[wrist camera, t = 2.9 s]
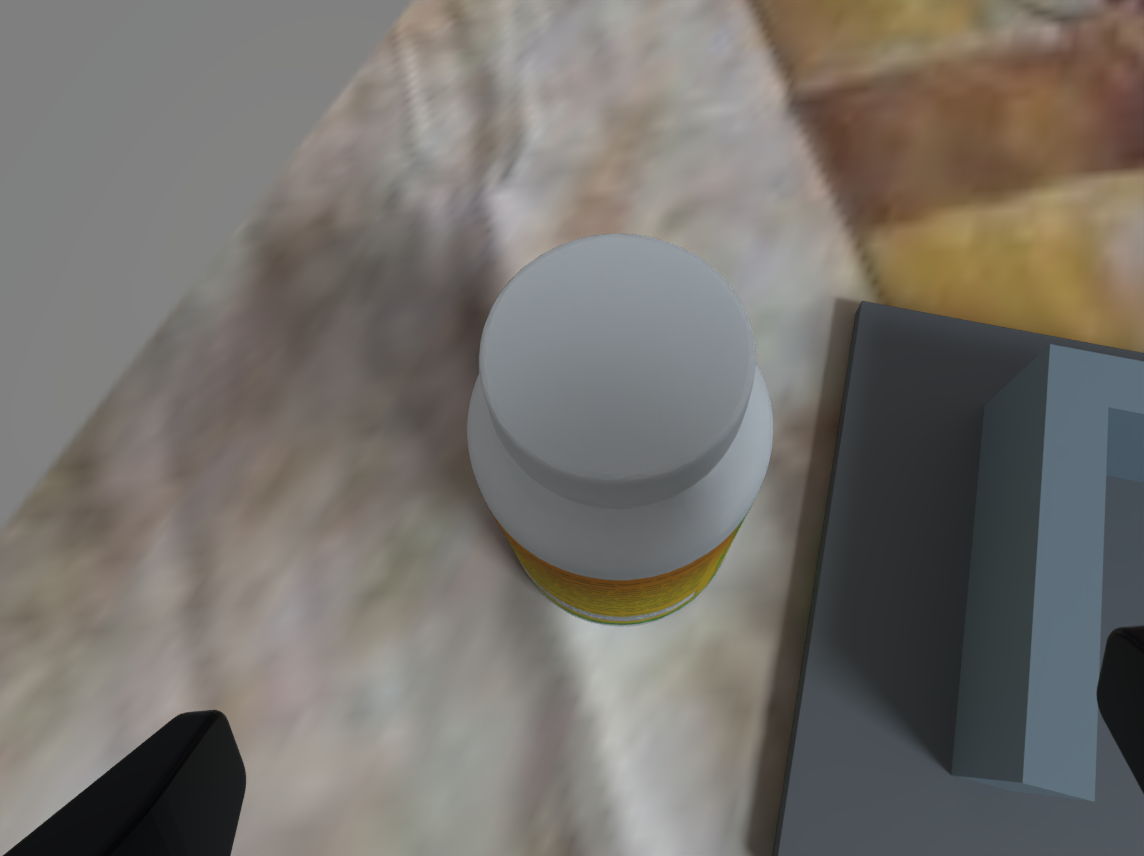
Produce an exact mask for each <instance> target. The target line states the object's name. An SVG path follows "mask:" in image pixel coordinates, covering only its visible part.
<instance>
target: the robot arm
mask: <svg viewBox="0 0 1144 856" xmlns="http://www.w3.org/2000/svg"><path fill="white" fill-rule="evenodd" d="M1096 694H1097V703H1098V708H1099V710H1100V713H1101V716H1102V718H1103V720H1104V722H1105V724H1106V725H1107V727H1108V729H1109V731H1110V733H1111V735H1112V737H1113V738H1114V740H1115V742H1116V744H1117V746H1118V748H1119V750H1120V751H1121V753H1122V755H1123V757H1124V759H1125V761H1126V763H1127V764H1128V766H1129V768H1130V770H1131V772H1132V774H1133V776H1134V777H1135V779H1136V781H1137V783H1138V785H1139V787H1140V789H1141V790H1142V792H1143V794H1144V625H1139V626H1128V627H1119V628H1117V629H1114V630H1113V631H1112V632H1111V633H1110V635H1109V636H1108V639H1107V642H1106V647H1105V652H1104V656H1103V661H1102V666H1101V671H1100V675H1099V680H1098V685H1097V693H1096ZM245 789H246V772H245V767H244V763H243V761H242V758H241V755H240V752H239V750H238V747H237V744H236V741H235V739H234V736H233V733H232V730H231V727H230V725H229V722H228V720H227V718H226V716H225V715H224V714H223V713H222V712H221V711H217V710H207V711H196V712H186V713H182V714H180V715H178V716H176V717H175V718H173V719H172V720H171V721H169V722H168V723H167V724H166V725H165V726H163V727H162V728H161V729H160V730H158V731H157V732H156V733H155V734H153V735H152V736H151V737H150V738H148V739H147V740H146V741H145V742H143V743H142V744H141V745H140V746H138V747H137V748H136V749H135V750H133V751H132V752H131V753H130V754H128V755H127V756H126V757H125V758H124V759H122V760H121V761H120V762H119V763H117V764H116V765H115V766H114V767H112V768H111V769H110V770H109V771H107V772H106V773H105V774H104V775H102V776H101V777H100V778H99V779H97V780H96V781H95V782H94V783H92V784H91V785H90V786H89V787H88V788H86V789H85V790H84V791H83V792H81V793H80V794H79V795H78V796H76V797H75V798H74V799H73V800H71V801H70V802H69V803H68V804H66V805H65V806H64V807H63V808H61V809H60V810H59V811H58V812H56V813H55V814H54V815H53V816H51V817H50V818H49V819H48V820H47V821H45V822H44V823H43V824H42V825H40V826H39V827H38V828H37V829H35V830H34V831H33V832H32V833H30V834H29V835H28V836H27V837H25V838H24V839H23V840H22V841H20V842H19V843H18V844H17V845H15V846H14V847H13V848H12V849H11V850H9V851H8V852H7V853H6V854H4V855H3V856H230V855H231V851H232V846H233V842H234V838H235V833H236V829H237V825H238V820H239V816H240V812H241V807H242V803H243V799H244V794H245Z"/></svg>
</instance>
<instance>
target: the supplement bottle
mask: <svg viewBox="0 0 1144 856" xmlns="http://www.w3.org/2000/svg"><path fill="white" fill-rule="evenodd" d="M467 441H468V450H469V456H470V461H471V465H472V469H473V472H474V475H475V478H476V481H477V483H478V486H479V489H480V491H481V494H482V496H483V498H484V500H485V502H486V504H487V506H488V508H489V510H490V511H491V513H492V515H493V516H494V518H495V520H496V522H497V523H498V525H499V526H500V528H501V530H502V531H503V533H504V535H505V536H506V538H507V540H508V541H509V543H510V545H511V547H512V548H513V550H514V552H515V554H516V555H517V557H518V559H519V561H520V563H521V565H522V566H523V568H524V570H525V571H526V573H527V574H528V576H529V577H530V579H531V580H532V581H533V583H534V584H535V585H536V586H537V587H538V589H539V590H540V591H541V592H542V593H543V594H544V595H545V596H546V597H547V598H548V599H549V600H550V601H552V602H553V603H554V604H555V605H557V606H558V607H560V608H561V609H563V610H564V611H566V612H568V613H570V614H571V615H573V616H576V617H578V618H581V619H583V620H586V621H589V622H593V623H597V624H602V625H609V626H636V625H642V624H647V623H651V622H654V621H657V620H660V619H663V618H665V617H667V616H669V615H671V614H673V613H675V612H677V611H679V610H680V609H682V608H683V607H685V606H686V605H687V604H689V603H690V602H691V601H693V600H694V599H695V598H696V597H697V596H698V595H699V594H700V593H701V592H702V591H703V590H704V589H705V588H706V586H707V585H708V584H709V583H710V581H711V580H712V578H713V577H714V575H715V574H716V572H717V571H718V569H719V568H720V566H721V564H722V562H723V560H724V558H725V555H726V553H727V551H728V549H729V548H730V546H731V544H732V542H733V540H734V538H735V536H736V534H737V532H738V530H739V528H740V526H741V525H742V523H743V521H744V519H745V517H746V516H747V514H748V512H749V510H750V508H751V506H752V504H753V502H754V501H755V499H756V496H757V494H758V492H759V490H760V488H761V485H762V483H763V480H764V477H765V475H766V471H767V468H768V464H769V460H770V455H771V450H772V441H773V416H772V407H771V402H770V397H769V393H768V390H767V387H766V383H765V380H764V378H763V375H762V373H761V371H760V368H759V366H758V365H757V363H756V351H755V341H754V336H753V332H752V328H751V324H750V321H749V318H748V316H747V313H746V311H745V309H744V307H743V304H742V303H741V301H740V299H739V298H738V296H737V295H736V293H735V292H734V290H733V289H732V288H731V286H730V285H729V284H728V282H727V281H726V280H725V279H724V278H723V277H722V276H721V275H720V274H719V273H718V272H717V271H716V270H715V269H714V268H713V267H711V266H710V265H709V264H708V263H706V262H705V261H703V260H702V259H701V258H699V257H698V256H696V255H694V254H692V253H691V252H689V251H687V250H685V249H683V248H681V247H679V246H676V245H674V244H671V243H668V242H665V241H662V240H659V239H656V238H651V237H647V236H642V235H634V234H603V235H594V236H590V237H585V238H581V239H577V240H574V241H571V242H568V243H565V244H563V245H560V246H558V247H556V248H553V249H551V250H550V251H548V252H546V253H544V254H542V255H540V256H539V257H538V258H536V259H535V260H533V261H532V262H531V263H529V264H528V265H526V266H525V267H524V268H522V269H521V270H520V271H519V272H518V273H517V274H516V275H515V276H514V277H513V278H512V279H511V280H510V281H509V282H508V284H507V285H506V286H505V288H504V289H503V290H502V291H501V293H500V294H499V296H498V297H497V299H496V300H495V302H494V304H493V306H492V308H491V310H490V313H489V315H488V318H487V320H486V322H485V325H484V329H483V333H482V337H481V343H480V351H479V375H478V377H477V380H476V382H475V385H474V388H473V392H472V396H471V400H470V405H469V410H468V420H467Z"/></svg>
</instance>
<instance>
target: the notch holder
mask: <svg viewBox="0 0 1144 856" xmlns="http://www.w3.org/2000/svg"><path fill="white" fill-rule="evenodd" d="M1139 625H1144V353H1140V352H1134V351H1129V350H1124V349H1118V348H1113V347H1107V346H1102V345H1097V344H1091V343H1086V342H1081V341H1075V340H1070V339H1064V338H1059V337H1054V336H1048V335H1043V334H1037V333H1032V332H1027V331H1021V330H1016V329H1010V328H1005V327H1000V326H994V325H989V324H983V323H978V322H973V321H967V320H962V319H956V318H951V317H946V316H940V315H935V314H929V313H924V312H919V311H913V310H908V309H902V308H897V307H892V306H886V305H881V304H875V303H870V302H865V301H862V302H861V304H860V306H859V308H858V310H857V311H856V317H855V323H854V330H853V336H852V343H851V349H850V356H849V362H848V369H847V375H846V382H845V388H844V395H843V401H842V408H841V414H840V421H839V427H838V434H837V440H836V447H835V453H834V460H833V466H832V473H831V479H830V486H829V492H828V499H827V505H826V512H825V518H824V525H823V532H822V538H821V545H820V551H819V558H818V564H817V571H816V577H815V584H814V590H813V597H812V603H811V610H810V616H809V623H808V629H807V636H806V642H805V649H804V655H803V662H802V668H801V675H800V681H799V688H798V694H797V701H796V707H795V714H794V720H793V727H792V734H791V740H790V747H789V753H788V760H787V766H786V773H785V779H784V786H783V792H782V799H781V805H780V812H779V818H778V825H777V831H776V838H775V844H774V851H773V856H1144V794H1143V792H1142V790H1141V789H1140V787H1139V785H1138V783H1137V781H1136V779H1135V777H1134V776H1133V774H1132V772H1131V770H1130V768H1129V766H1128V764H1127V763H1126V761H1125V759H1124V757H1123V755H1122V753H1121V751H1120V750H1119V748H1118V746H1117V744H1116V742H1115V740H1114V738H1113V737H1112V735H1111V733H1110V731H1109V729H1108V727H1107V725H1106V724H1105V722H1104V720H1103V718H1102V716H1101V713H1100V710H1099V708H1098V703H1097V694H1096V693H1097V685H1098V680H1099V675H1100V671H1101V666H1102V661H1103V656H1104V652H1105V647H1106V642H1107V639H1108V636H1109V635H1110V633H1111V632H1112V631H1113V630H1114V629H1117V628H1119V627H1128V626H1139Z"/></svg>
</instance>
